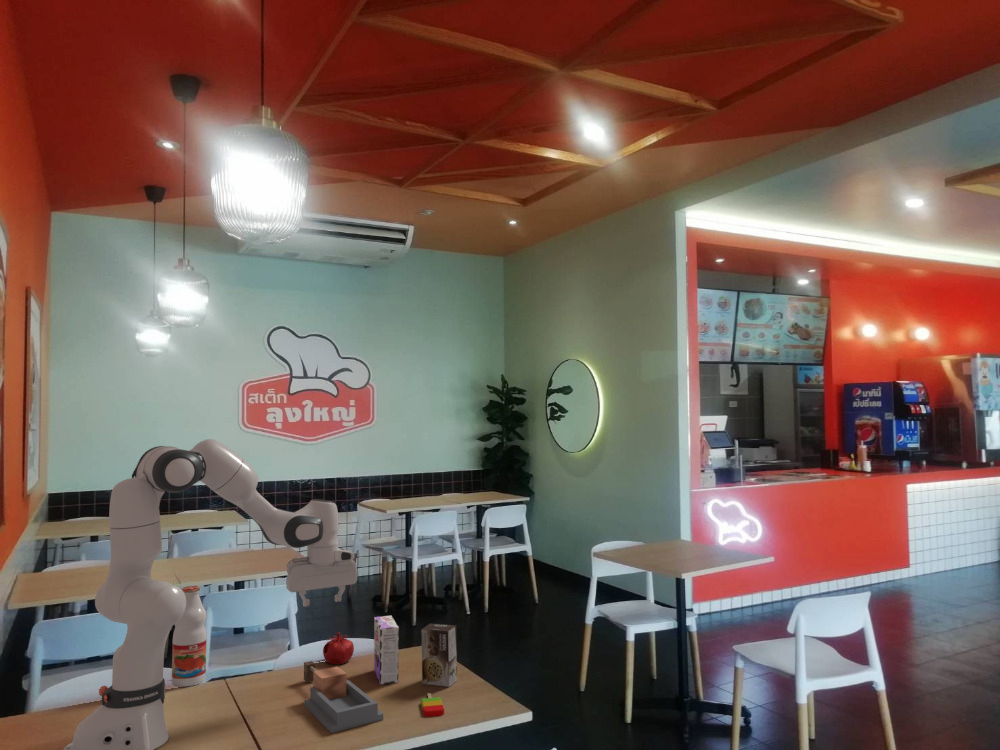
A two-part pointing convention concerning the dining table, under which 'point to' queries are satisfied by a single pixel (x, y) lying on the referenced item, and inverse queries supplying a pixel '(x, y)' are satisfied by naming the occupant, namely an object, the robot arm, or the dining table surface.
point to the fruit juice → (190, 642)
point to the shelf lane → (343, 709)
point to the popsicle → (432, 706)
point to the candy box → (386, 649)
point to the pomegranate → (338, 650)
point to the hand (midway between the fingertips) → (322, 603)
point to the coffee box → (439, 655)
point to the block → (326, 680)
